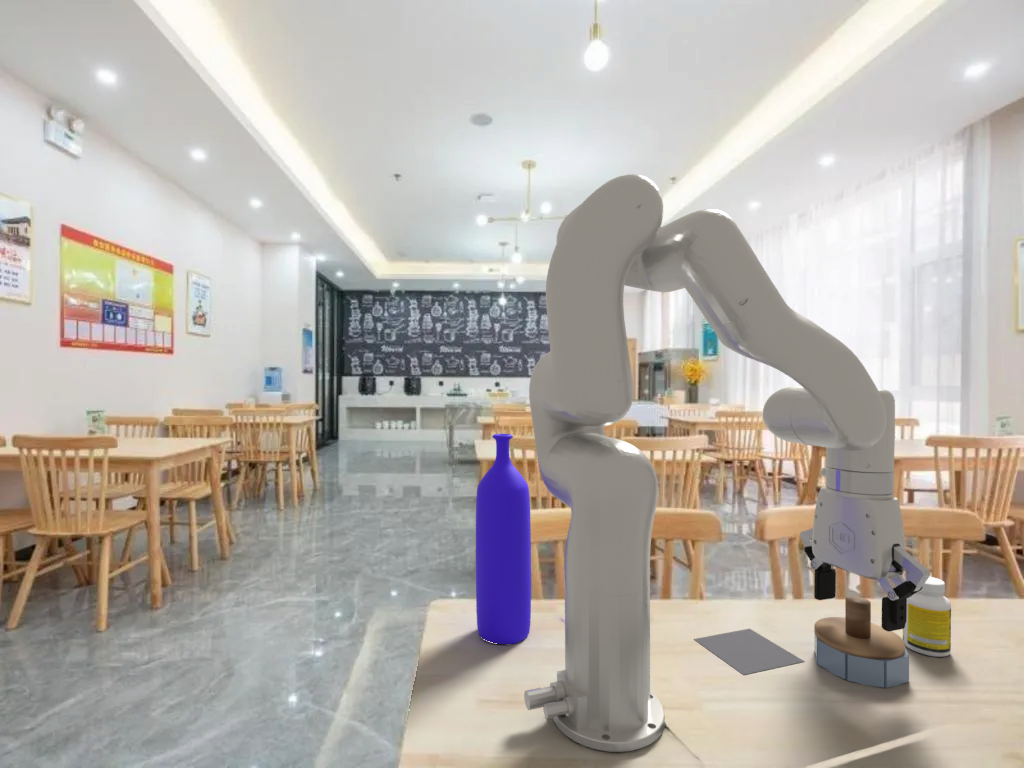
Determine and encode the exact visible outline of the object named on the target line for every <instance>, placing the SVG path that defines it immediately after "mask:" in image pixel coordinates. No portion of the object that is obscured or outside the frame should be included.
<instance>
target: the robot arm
mask: <svg viewBox="0 0 1024 768" xmlns="http://www.w3.org/2000/svg"><path fill="white" fill-rule="evenodd" d="M663 218H664V203H663V197H662V194H661V191H660V190H659V188H658V186H657V185H656V183H654V181H652V180H651V179H649V178H648V177H646V176H643V175H640V174H634V173H633V174H624V175H619V176H617V177H614V178H612V179H610V180H608V181H606V182H605V183H603V184H602V185H601V186H600V187H599V186H598V188H597V189H596V190H595V191H593V192H592V193H591V194H590V195H589V196H588V197H586V199H584V201H583V202H582V203H580V204H579V205H578V206H576V207H575V208H574V209H573V210H571V212H570V213H568V214H567V215H566V216H565V218H564V219H563V221H562V222H561V223H560V226H559V228H558V230H557V234H556V245H555V246H554V250H553V252H552V255H551V259H550V260H549V261H550V262H549V266H548V270H547V275H546V283H545V306H546V317H547V329H548V331H547V332H548V339H549V349H550V351H548V352H546V353H545V354H544V355H543V356H542V357H541V358H539V359H538V361H537V362H536V364H535V366H534V367H533V369H532V371H531V375H530V380H529V386H528V387H529V389H528V391H529V392H528V394H529V395H528V397H529V406H530V415H531V421H532V422H531V423H532V429H533V436H534V444H535V449H536V457H537V461H538V468H539V472H540V475H541V479H542V481H543V484H544V485H545V487H546V489H547V491H549V492H550V494H551V495H552V496H553V497H554V498H556V499H557V500H559V502H561V503H563V504H564V505H566V506H567V507H569V508H570V521H569V526H568V532H567V534H566V540H565V549H564V669H562V670H558V671H556V681H554V682H553V681H552V682H550V684H549V686H546V687H538V688H531V689H527V690H524V695H523V697H524V699H523V700H524V704H525V707H526V709H527V710H528V711H531V710H537V709H541V708H543V710H542V711H543V714H544V717H545V718H546V719H553V722H554V724H555V725H556V726H557V728H558V729H559V730H560V731H561V732H562V733H563V734H564V735H565V736H566V737H568V738H569V739H571V740H572V741H574V742H576V743H578V744H579V745H582V746H585V747H587V748H590V749H593V750H594V749H595V750H597V751H603V752H609V753H610V752H612V753H615V752H616V753H617V752H618V753H622V752H631V751H635V750H640V749H642V748H645V747H647V746H649V745H651V744H652V743H654V742H655V741H657V740H658V739H659V738H660V737H661V736H662V734H663V732H664V729H665V722H666V721H665V720H666V716H665V709H664V706H663V705H662V702H661V701H660V699H658V697H657V696H656V695H654V694H653V692H651V581H650V580H651V546H652V545H651V542H652V532H653V526H654V520H655V515H656V511H657V510H656V509H657V505H658V498H659V497H658V496H659V483H658V482H659V480H658V477H657V473H656V471H655V468H654V465H653V464H652V462H651V461H650V460H649V458H648V456H647V455H646V454H645V453H644V452H642V450H640V448H639V447H637V446H635V445H633V444H632V443H630V442H627V441H625V440H622V439H619V438H614V437H611V436H610V437H609V436H606V435H605V428H604V427H608V426H610V425H614V424H616V423H618V422H620V420H622V419H623V418H624V417H625V416H626V415H627V413H628V412H629V411H630V409H631V407H632V403H633V400H634V381H633V380H634V379H633V373H632V372H633V371H632V365H631V358H630V351H629V344H628V335H627V330H626V329H627V328H626V322H625V321H626V320H625V311H624V310H625V309H624V292H625V286H626V287H630V288H635V289H640V290H645V291H651V292H657V293H658V292H659V293H663V292H664V293H669V292H670V293H671V292H676V291H678V290H682V289H685V290H686V291H687V294H689V296H690V297H691V298H692V300H693V302H694V303H695V305H696V306H697V308H698V310H699V311H700V312H701V314H702V315H703V316H704V319H705V320H706V322H707V323H708V324H709V326H710V328H711V329H712V330H713V333H714V334H715V335H716V337H717V338H718V340H719V341H720V343H721V344H722V345H723V346H725V347H726V348H727V349H729V350H731V351H733V352H735V353H737V354H739V355H741V356H743V357H745V358H748V359H751V360H754V361H756V362H759V363H762V364H764V365H767V366H769V367H771V368H773V369H775V370H777V371H779V372H781V373H783V374H784V375H786V376H788V377H789V378H790V379H792V380H793V381H795V382H796V383H797V384H799V385H795V386H794V385H792V386H786V387H784V388H783V387H782V388H781V389H779V390H777V391H775V392H774V393H772V394H771V395H770V396H769V397H768V398H767V400H766V401H765V403H764V406H763V408H762V417H763V418H762V419H763V422H764V424H765V427H766V428H767V429H768V431H770V433H771V434H772V435H774V436H775V437H777V438H778V439H780V440H783V441H786V442H789V443H794V444H799V445H805V446H806V445H808V446H812V447H813V446H814V447H815V446H816V447H823V448H825V455H826V456H825V467H822V469H821V471H820V472H821V476H822V477H823V478H825V486H823V487H820V489H819V492H818V496H817V499H816V503H815V509H814V516H813V517H814V518H813V523H812V524H813V525H812V528H809V529H806V530H802V531H800V532H799V533H800V534H799V536H800V539H801V542H802V544H803V546H804V553H805V555H806V556H807V557H808V559H809V561H810V562H809V565H810V567H811V569H812V570H814V593H813V594H814V595H813V596H814V599H816V600H818V601H823V600H830V599H835V598H836V594H837V591H836V590H837V589H836V587H837V572H836V569H835V568H837V569H840V570H843V571H845V572H847V573H848V572H849V573H852V574H854V575H856V576H859V577H862V578H864V579H868V580H877V582H878V583H879V585H880V586H881V588H882V590H883V592H884V593H885V595H886V596H884V597H882V599H881V626H882V628H883V630H886V631H888V632H889V631H892V632H894V631H900V630H903V629H904V628H905V624H906V617H907V598H911V597H912V595H914V594H915V593H917V592H919V591H920V590H921V589H922V585H924V584H925V582H926V581H927V579H928V578H929V576H930V577H931V572H930V570H929V569H928V568H927V567H925V565H924V564H922V563H921V562H920V561H918V559H916V558H915V557H913V556H912V555H911V554H910V553H909V552H907V551H906V543H905V531H904V530H905V529H904V523H903V515H902V511H901V506H900V505H901V504H900V501H899V497H895V496H894V494H895V447H896V446H895V439H896V436H895V433H896V432H895V431H896V399H895V396H894V395H893V393H892V392H890V391H889V390H887V389H883V388H878V387H877V385H876V383H875V382H874V380H873V379H872V377H871V376H870V374H869V372H868V371H867V369H866V368H865V366H864V364H863V362H862V361H861V360H860V359H859V358H858V356H857V355H856V354H855V353H854V352H853V350H852V349H850V348H849V347H848V346H847V345H846V344H845V343H843V342H842V341H841V340H839V339H838V338H837V337H835V336H834V335H832V334H831V333H829V332H827V331H826V330H825V329H824V328H822V327H820V325H818V324H816V323H815V322H813V321H812V320H810V319H809V318H807V317H805V316H804V315H802V314H800V313H798V312H797V311H795V310H794V309H793V308H791V307H790V305H788V303H786V301H785V300H784V298H783V297H782V295H781V293H780V292H779V290H778V288H777V287H776V285H775V283H774V282H773V281H772V279H771V277H770V276H769V274H768V273H767V272H766V270H765V268H764V267H763V265H762V263H761V262H760V260H759V258H758V257H757V254H756V253H755V252H754V250H753V249H752V247H751V245H750V244H749V242H748V241H747V239H746V237H745V236H744V234H743V233H742V230H741V229H740V228H739V227H738V225H737V224H736V222H735V221H734V220H733V218H732V217H731V216H730V215H729V214H727V213H726V212H724V211H722V210H721V209H720V210H719V209H714V208H707V209H706V208H704V209H700V210H697V211H694V212H690V213H689V214H686V215H684V216H681V217H679V218H677V219H675V220H673V221H671V222H668V223H667V224H666V225H663V226H662V223H663ZM833 567H835V568H833ZM905 570H906V572H907V573H908V576H907V579H906V580H905V578H904V577H903V576H902V575H903V574H904V571H905Z"/></svg>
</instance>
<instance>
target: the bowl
mask: <svg viewBox="0 0 1024 768" xmlns="http://www.w3.org/2000/svg"><path fill="white" fill-rule="evenodd" d="M814 654H815V662H816V664H817V665H819V666H820V667H822V668H823V669H825V670H827V672H829V673H831V674H833V675H835V676H837V677H839V678H841V679H843V680H847V682H852V683H856V684H860V685H865V686H870V687H876V688H878V687H879V688H882V689H883V688H884V689H888V688H891V687H893V688H894V687H897V686H900V685H902V684H905V683H908V682H909V680H910V654H909V652H908V650H907V649H906V647H905V653H904V654H903V655H902V656H901V657H899V658H895V659H888V660H879V659H869V658H863V657H858V656H854V655H850V654H847V653H844V652H841V651H838V650H836V649H834V648H832V647H830V646H828V645H826V644H824V643H823V642H822V641H820V640H819V639H818V638H817V637H816V635H815V634H814Z"/></svg>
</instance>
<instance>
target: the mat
mask: <svg viewBox="0 0 1024 768" xmlns="http://www.w3.org/2000/svg"><path fill="white" fill-rule="evenodd" d="M693 640H694V641H695V642H696V643H698V644H700V645H701V646H702V647H704V648H705V649H706V650H707V651H709V652H710V653H711V654H713V655H715V656H716V657H717V658H719V659H720V660H722V662H724V663H726V664H728V666H730V667H732V668H733V669H734V670H735V671H737V672H738V673H740V674H741V675H743V676H747V675H751V674H756V673H760V672H765V671H769V670H774V669H777V668H779V669H780V668H783V667H788V666H793V665H796V664H801V663H805V660H803V659H802V658H800V657H798V656H797V655H795V654H793V653H791V652H789V651H788V650H786V649H785V648H783V647H781V646H780V645H778V644H777V643H775V642H773V641H771V640H770V639H768V638H766V637H765V636H764V635H762V634H760V633H758V632H756V631H755V630H753V629H751V628H746V629H740V630H734V631H730V632H729V631H728V632H724V633H721V634H720V633H719V634H714V635H709V636H708V635H707V636H702V637H697V638H694V639H693Z"/></svg>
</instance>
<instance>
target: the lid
mask: <svg viewBox="0 0 1024 768" xmlns="http://www.w3.org/2000/svg"><path fill="white" fill-rule="evenodd" d="M871 606H872V605H871V601H870V600H868V599H866V598H863V597H860V596H853V595H851V596H850V595H849V596H846V597H845V607H844V608H845V609H844V610H845V617H843V616H842V617H840V616H838V617H837V616H836V617H835V616H832V617H831V616H829V617H824V618H821V619H818V620H816V621H815V623H814V627H813V628H814V631H813V632H814V636H815V635H816V637H817V638H818V639H819V640H820V641H822V642H823V643H824V644H826V645H828V646H830V647H832V648H834V649H836V650H838V651H841V652H844V653H847V654H850V655H854V656H858V657H863V658H869V659H879V660H888V659H895V658H899V657H901V656H902V655H903V654H904V653H905V648H906V645H905V643H904V641H903V637H901V636H900V635H898V634H897V633H895V632H894V631H889V632H888V631H886V630H883V628H882V625H879V624H877V623H872V610H871V608H872V607H871Z"/></svg>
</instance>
